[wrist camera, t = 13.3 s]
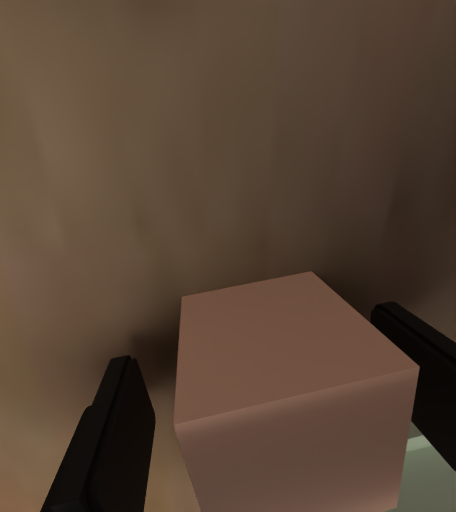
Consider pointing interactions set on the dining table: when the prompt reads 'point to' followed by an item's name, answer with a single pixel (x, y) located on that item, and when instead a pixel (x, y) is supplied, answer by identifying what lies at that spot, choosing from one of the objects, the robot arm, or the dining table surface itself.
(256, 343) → the terracotta block
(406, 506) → the sage plinth
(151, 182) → the dining table surface
